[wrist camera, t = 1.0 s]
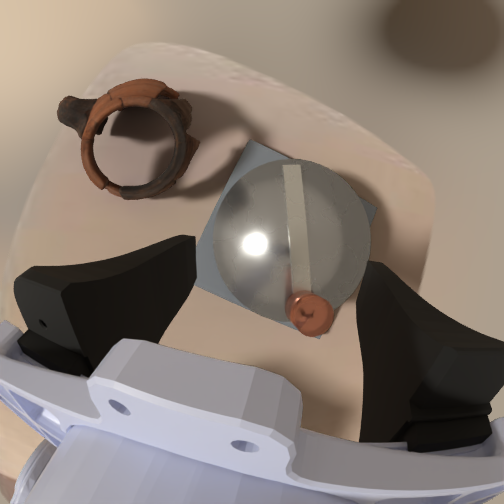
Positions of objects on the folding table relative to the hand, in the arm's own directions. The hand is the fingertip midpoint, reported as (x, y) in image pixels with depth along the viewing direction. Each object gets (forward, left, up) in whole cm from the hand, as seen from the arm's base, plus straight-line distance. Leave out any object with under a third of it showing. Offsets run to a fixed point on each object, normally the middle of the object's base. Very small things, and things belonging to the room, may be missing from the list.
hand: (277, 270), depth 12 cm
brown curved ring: (+5, +13, -12) cm, 18 cm away
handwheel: (+2, -2, -10) cm, 10 cm away
